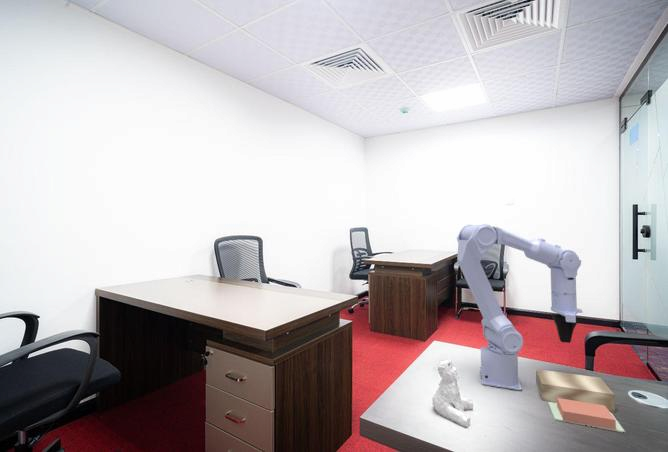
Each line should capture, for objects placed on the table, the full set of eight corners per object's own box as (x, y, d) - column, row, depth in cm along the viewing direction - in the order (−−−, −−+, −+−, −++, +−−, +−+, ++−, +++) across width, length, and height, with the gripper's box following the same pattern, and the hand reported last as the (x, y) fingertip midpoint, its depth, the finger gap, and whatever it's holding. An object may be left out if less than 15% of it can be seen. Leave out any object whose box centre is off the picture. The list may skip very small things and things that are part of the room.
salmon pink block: (556, 397, 76) (557, 406, 75) (563, 411, 70) (563, 420, 70) (604, 405, 72) (605, 414, 72) (615, 420, 66) (615, 429, 66)
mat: (554, 419, 71) (554, 418, 71) (548, 403, 78) (548, 401, 78) (624, 432, 66) (624, 431, 66) (610, 413, 73) (610, 412, 73)
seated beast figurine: (469, 429, 68) (468, 372, 68) (428, 419, 72) (426, 365, 72) (473, 407, 76) (472, 356, 77) (436, 399, 80) (435, 351, 81)
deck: (542, 400, 79) (541, 383, 79) (536, 384, 87) (535, 369, 87) (614, 412, 73) (614, 394, 73) (600, 393, 81) (600, 377, 81)
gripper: (589, 298, 81) (591, 352, 81) (573, 288, 95) (575, 335, 94) (556, 297, 84) (557, 349, 84) (545, 287, 98) (546, 332, 97)
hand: (565, 341), depth 89 cm, fingers closed
